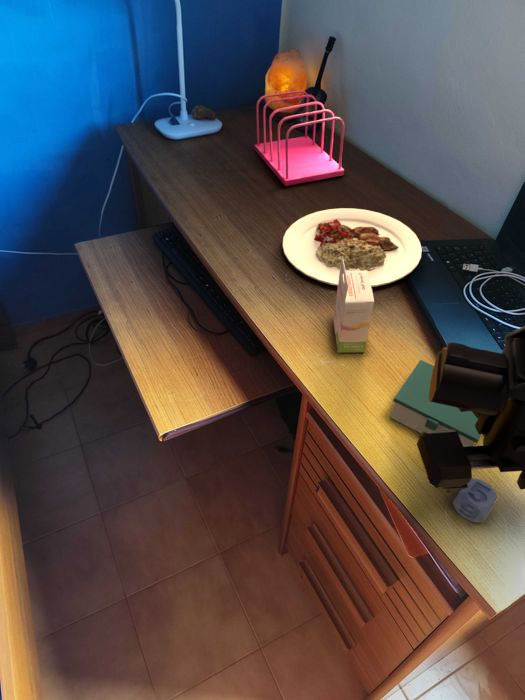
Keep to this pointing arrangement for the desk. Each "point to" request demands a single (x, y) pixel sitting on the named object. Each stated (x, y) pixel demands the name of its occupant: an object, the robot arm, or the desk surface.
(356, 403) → the desk surface
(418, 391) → the box
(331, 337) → the desk surface
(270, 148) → the file sorter
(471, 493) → the decorative dice
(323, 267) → the plated food
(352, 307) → the ink box
